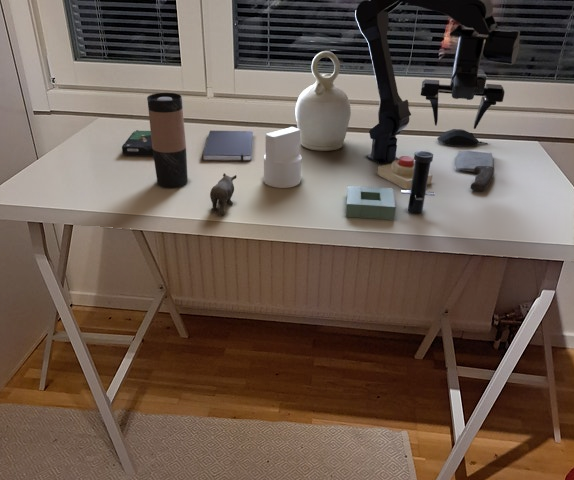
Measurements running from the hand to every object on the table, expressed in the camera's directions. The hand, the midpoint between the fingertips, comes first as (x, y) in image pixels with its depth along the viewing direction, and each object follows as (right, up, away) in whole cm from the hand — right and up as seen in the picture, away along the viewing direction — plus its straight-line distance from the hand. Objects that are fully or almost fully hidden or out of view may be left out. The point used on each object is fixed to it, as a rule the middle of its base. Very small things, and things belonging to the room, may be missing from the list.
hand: (455, 126), depth 135 cm
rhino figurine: (-55, -21, -12) cm, 60 cm away
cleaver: (+7, -9, +8) cm, 15 cm away
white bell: (-31, +2, +24) cm, 39 cm away
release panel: (-12, -12, +2) cm, 17 cm away
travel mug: (-69, -14, -3) cm, 70 cm away
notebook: (-57, 0, +20) cm, 61 cm away
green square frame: (-23, -22, -13) cm, 34 cm away
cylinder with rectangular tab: (-42, -13, 0) cm, 44 cm away
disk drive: (-80, -1, +18) cm, 82 cm away
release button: (-12, -9, +1) cm, 15 cm away
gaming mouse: (+11, +3, +28) cm, 30 cm away
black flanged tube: (-13, -23, -14) cm, 29 cm away
